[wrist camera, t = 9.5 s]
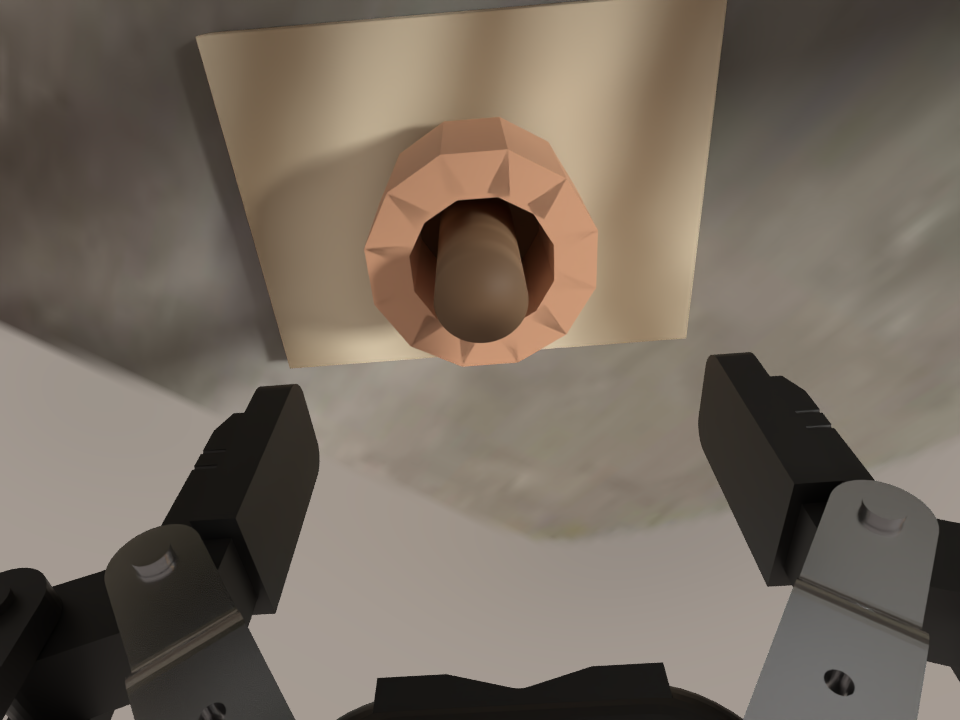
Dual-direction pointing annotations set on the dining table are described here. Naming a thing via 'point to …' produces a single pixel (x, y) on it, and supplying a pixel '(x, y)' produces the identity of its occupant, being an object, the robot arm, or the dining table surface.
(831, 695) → the robot arm
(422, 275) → the ring
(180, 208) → the dining table surface
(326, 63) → the base board
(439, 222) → the post
